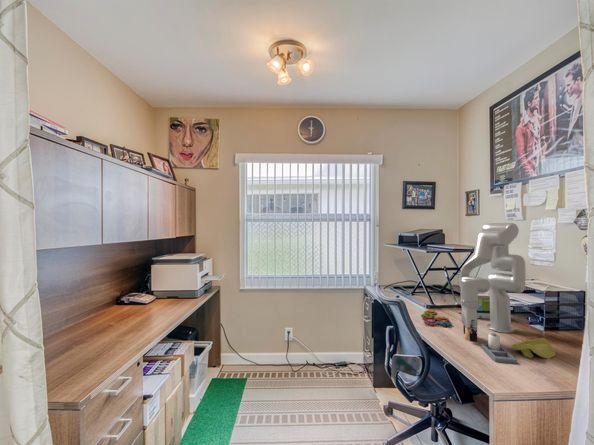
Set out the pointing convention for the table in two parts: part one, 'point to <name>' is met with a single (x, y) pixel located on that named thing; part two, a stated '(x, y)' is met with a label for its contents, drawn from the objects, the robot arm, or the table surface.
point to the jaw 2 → (493, 341)
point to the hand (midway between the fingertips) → (470, 337)
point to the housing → (499, 354)
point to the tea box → (483, 306)
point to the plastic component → (535, 348)
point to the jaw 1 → (467, 333)
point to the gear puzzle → (435, 319)
